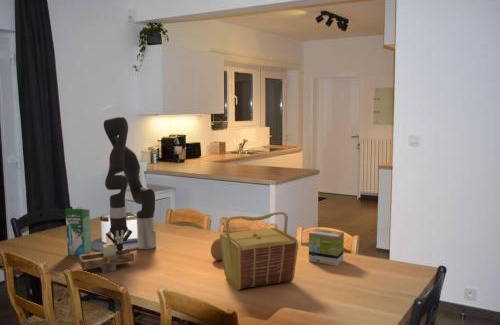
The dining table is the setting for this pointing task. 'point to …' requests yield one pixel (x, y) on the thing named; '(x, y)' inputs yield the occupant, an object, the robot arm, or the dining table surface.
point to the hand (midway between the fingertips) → (119, 250)
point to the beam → (105, 260)
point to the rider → (109, 250)
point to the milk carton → (78, 231)
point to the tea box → (326, 246)
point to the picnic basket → (258, 254)
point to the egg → (216, 250)
